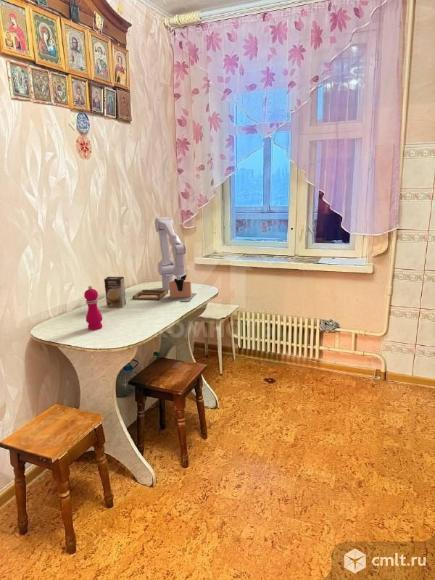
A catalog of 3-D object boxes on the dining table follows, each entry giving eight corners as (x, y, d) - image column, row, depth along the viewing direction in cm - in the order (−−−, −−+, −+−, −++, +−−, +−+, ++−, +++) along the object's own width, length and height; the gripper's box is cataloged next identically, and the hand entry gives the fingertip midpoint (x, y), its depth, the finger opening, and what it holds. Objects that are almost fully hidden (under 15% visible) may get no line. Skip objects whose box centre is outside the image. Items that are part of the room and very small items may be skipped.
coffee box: (106, 308, 211) (103, 279, 207) (110, 305, 217) (107, 276, 213) (123, 308, 210) (120, 279, 206) (127, 304, 216) (124, 276, 212)
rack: (143, 293, 238) (142, 289, 237) (168, 294, 234) (168, 290, 234) (133, 300, 224) (132, 296, 223) (159, 301, 221) (159, 297, 220)
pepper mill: (88, 331, 178) (82, 288, 173) (86, 326, 184) (80, 285, 179) (104, 328, 181) (99, 286, 175) (102, 324, 187) (97, 283, 182)
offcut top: (140, 297, 228) (140, 295, 228) (157, 297, 227) (157, 295, 227) (138, 299, 224) (138, 297, 224) (156, 299, 223) (156, 297, 223)
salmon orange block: (171, 295, 229) (170, 280, 226) (191, 295, 228) (190, 280, 226) (170, 297, 225) (168, 282, 223) (191, 297, 225) (190, 281, 222)
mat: (174, 293, 235) (174, 292, 235) (196, 294, 232) (196, 293, 232) (164, 301, 220) (164, 300, 220) (189, 302, 217) (189, 301, 217)
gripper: (174, 263, 229) (176, 286, 233) (170, 268, 215) (172, 292, 219) (186, 263, 229) (188, 285, 232) (183, 268, 215) (184, 292, 218)
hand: (181, 289), depth 226 cm, fingers open, 7 cm apart
